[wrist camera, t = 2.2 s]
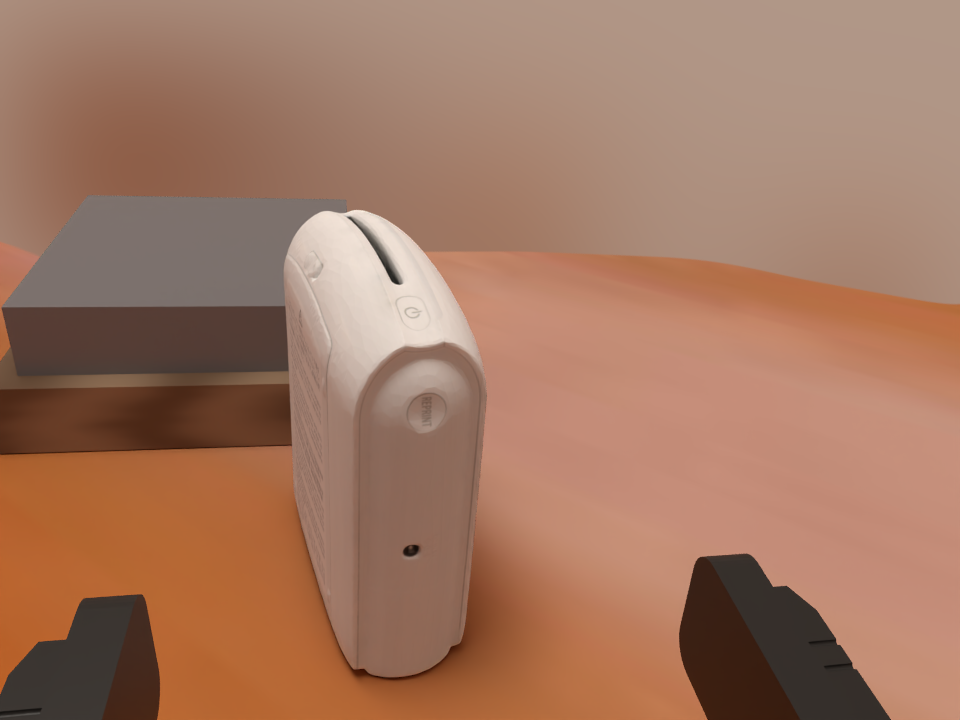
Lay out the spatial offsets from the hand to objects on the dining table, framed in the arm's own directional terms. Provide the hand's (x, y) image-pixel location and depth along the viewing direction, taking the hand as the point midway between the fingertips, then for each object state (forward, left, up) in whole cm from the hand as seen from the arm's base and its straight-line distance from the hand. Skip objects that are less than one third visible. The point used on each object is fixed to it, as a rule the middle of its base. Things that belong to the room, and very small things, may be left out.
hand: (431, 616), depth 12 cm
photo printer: (0, +13, -12) cm, 18 cm away
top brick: (-7, +28, -9) cm, 31 cm away
